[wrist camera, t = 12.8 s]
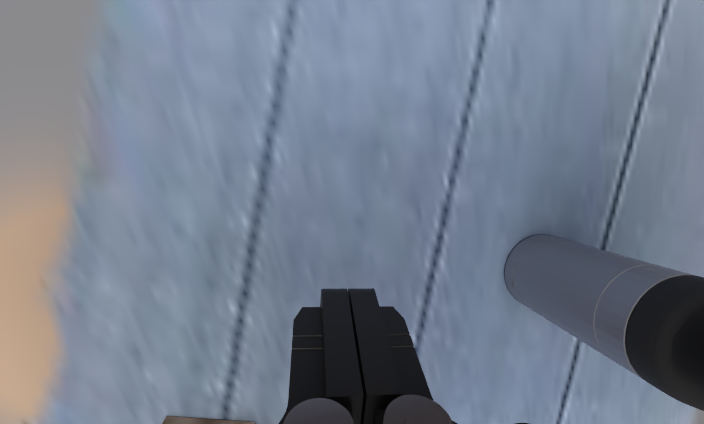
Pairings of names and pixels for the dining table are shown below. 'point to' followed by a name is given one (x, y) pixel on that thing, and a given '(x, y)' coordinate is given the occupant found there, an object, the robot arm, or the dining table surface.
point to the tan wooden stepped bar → (200, 421)
